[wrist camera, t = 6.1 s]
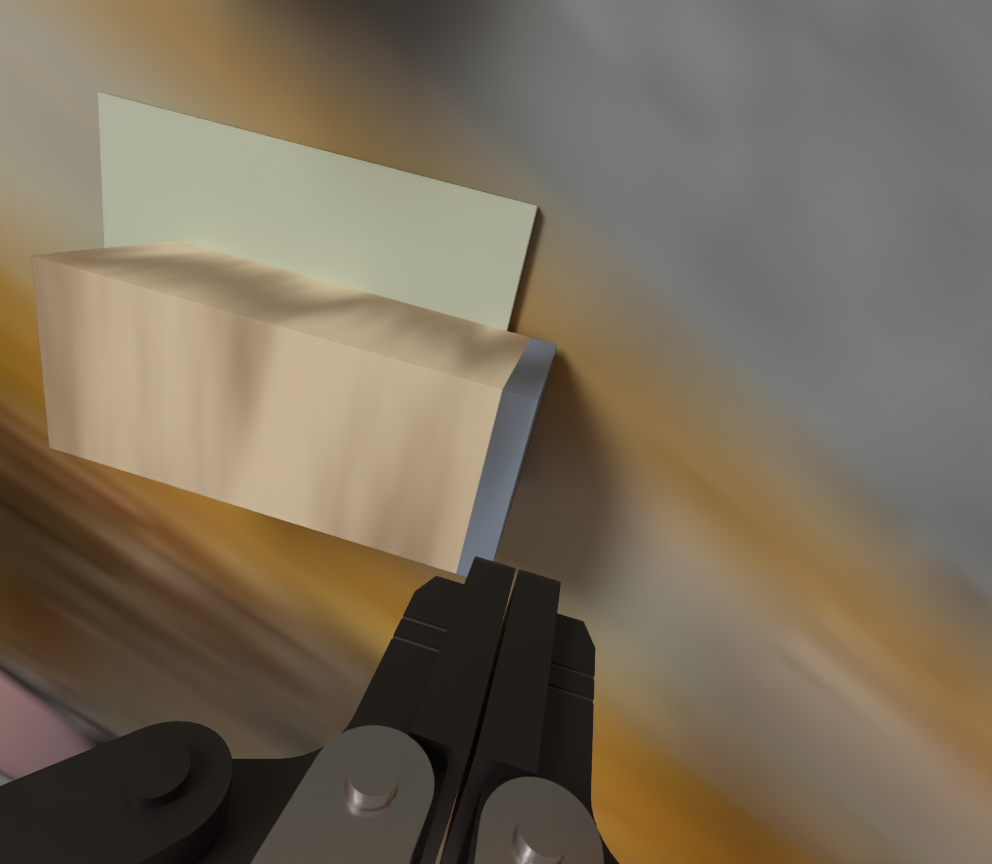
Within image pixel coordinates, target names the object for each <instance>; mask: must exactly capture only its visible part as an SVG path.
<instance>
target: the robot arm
mask: <svg viewBox="0 0 992 864" xmlns="http://www.w3.org/2000/svg"><path fill="white" fill-rule="evenodd" d="M515 569H516V568H513V567H510V566H507V565H503V564H500V563H497V562H493V561H490V560H487V559H484V558H480V557H477V556H475V557H474V560H473V562H472V565H471V568H470V571H469V573H468V576H467V579H466V581H465V584H461V583H457V582H454V581H451V580H448V579H445V578H441V577H438V576H435V577H434V578H433V579H431V580H430V581H429V582H427V583H426V584H425V585H423V586H422V587H420V588H419V589H418V590H416V591H415V592H414V594H413V596H412V598H411V600H410V602H409V605H408V607H407V609H406V611H405V613H404V615H403V618H402V619H401V621H400V623H399V625H398V627H397V629H396V631H395V633H394V636H393V639H391V641H390V643H389V645H388V647H387V649H386V651H385V653H384V656H383V658H382V660H381V662H380V664H379V666H378V668H377V670H376V672H375V674H374V676H373V678H372V680H371V682H370V684H369V686H368V688H367V690H366V692H365V694H364V696H363V698H362V700H361V702H360V704H359V706H358V709H357V711H356V713H355V715H354V717H353V718H352V720H351V722H350V723H349V725H348V726H347V727H346V728H345V730H344V731H343V732H342V733H341V734H339V735H338V736H336V737H335V738H334V739H332V740H331V741H330V742H329V743H328V744H327V745H326V746H324V747H322V748H320V749H318V750H316V751H314V752H311V753H308V754H305V755H302V756H298V757H293V758H284V759H232V757H231V754H230V751H229V748H228V746H227V744H226V743H225V741H224V740H223V739H222V738H221V737H220V736H219V735H218V734H217V733H216V732H214V731H213V730H211V729H210V728H208V727H205V726H203V725H200V724H196V723H192V722H182V721H174V722H164V723H159V724H155V725H151V726H148V727H145V728H142V729H139V730H137V731H135V732H132V733H130V734H127V735H125V736H122V737H120V738H117V739H115V740H112V741H110V742H107V743H105V744H103V745H100V746H98V747H95V748H93V749H90V750H88V751H85V752H83V753H80V754H78V755H75V756H73V757H71V758H68V759H66V760H63V761H61V762H58V763H56V764H53V765H51V766H48V767H46V768H44V769H41V770H39V771H36V772H34V773H31V774H29V775H26V776H24V777H21V778H19V779H16V780H14V781H12V782H9V783H7V784H4V785H2V786H0V864H435V861H436V858H437V855H438V852H439V849H440V846H441V842H442V839H443V836H444V833H445V830H446V826H447V823H448V820H449V817H450V814H451V810H452V807H453V804H454V801H455V798H456V801H455V805H454V809H453V813H452V817H451V821H450V825H449V829H448V833H447V837H446V841H445V845H444V849H443V853H442V857H441V860H440V864H619V863H618V861H617V860H616V859H615V858H614V856H613V855H612V854H611V852H610V851H609V849H608V848H607V846H606V844H605V843H604V841H603V839H602V837H601V835H600V833H599V831H598V829H597V826H596V823H595V820H594V817H593V811H592V806H591V773H592V740H593V707H594V704H593V699H594V680H593V679H594V674H595V646H594V644H593V642H592V640H591V637H590V635H589V633H588V630H587V628H586V626H585V624H584V622H583V621H580V620H577V619H574V618H570V617H567V616H564V615H561V614H558V613H557V609H558V601H559V593H560V582H559V581H556V580H553V579H549V578H546V577H543V576H540V575H536V574H533V573H530V572H527V571H523V570H520V569H519V571H518V574H517V577H516V580H515V583H514V587H513V590H512V593H511V597H510V600H509V603H508V606H507V610H506V613H505V609H506V605H507V601H508V597H509V593H510V589H511V585H512V581H513V577H514V573H515ZM504 613H505V616H504ZM503 617H504V619H503ZM502 621H503V623H502ZM501 625H502V626H501ZM458 788H459V789H458ZM457 791H458V793H457ZM456 795H457V797H456Z"/></svg>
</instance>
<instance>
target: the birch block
mask: <svg viewBox="0 0 992 864" xmlns="http://www.w3.org/2000/svg"><path fill="white" fill-rule="evenodd" d="M31 258H32V268H33V279H34V289H35V300H36V311H37V321H38V332H39V342H40V353H41V363H42V374H43V384H44V395H45V406H46V416H47V427H48V437H49V448H52V449H55V450H58V451H62V452H65V453H68V454H71V455H74V456H78V457H81V458H84V459H87V460H91V461H94V462H97V463H100V464H103V465H107V466H110V467H113V468H116V469H120V470H123V471H126V472H129V473H132V474H136V475H139V476H142V477H145V478H149V479H152V480H155V481H158V482H161V483H165V484H168V485H171V486H174V487H178V488H181V489H184V490H187V491H190V492H194V493H197V494H200V495H203V496H207V497H210V498H213V499H216V500H219V501H223V502H226V503H229V504H232V505H236V506H239V507H242V508H245V509H249V510H252V511H255V512H258V513H261V514H265V515H268V516H271V517H274V518H278V519H281V520H284V521H287V522H290V523H294V524H297V525H300V526H303V527H307V528H310V529H313V530H316V531H319V532H323V533H326V534H329V535H332V536H336V537H339V538H342V539H345V540H348V541H352V542H355V543H358V544H361V545H365V546H368V547H371V548H374V549H377V550H381V551H384V552H387V553H390V554H394V555H397V556H400V557H403V558H406V559H410V560H413V561H416V562H419V563H423V564H426V565H429V566H432V567H435V568H439V569H442V570H445V571H448V572H452V573H455V574H458V575H461V576H464V577H467V576H468V573H469V571H470V568H471V565H472V562H473V560H474V557H475V556H477V557H480V558H484V559H487V560H490V561H493V562H494V559H495V556H496V553H497V549H498V546H499V543H500V540H501V537H502V534H503V530H504V527H505V524H506V521H507V518H508V515H509V511H510V508H511V505H512V502H513V499H514V496H515V492H516V489H517V486H518V482H519V479H520V475H521V471H522V468H523V464H524V461H525V457H526V454H527V450H528V447H529V443H530V440H531V436H532V433H533V429H534V426H535V422H536V419H537V415H538V412H539V408H540V405H541V401H542V398H543V394H544V390H545V387H546V383H547V380H548V376H549V373H550V369H551V366H552V362H553V359H554V355H555V352H556V348H557V345H556V344H552V343H549V342H545V341H542V340H538V339H534V338H531V337H527V336H523V335H520V334H516V333H513V332H509V331H505V330H502V329H498V328H495V327H491V326H487V325H484V324H480V323H476V322H473V321H469V320H466V319H462V318H458V317H455V316H451V315H448V314H444V313H440V312H437V311H433V310H429V309H426V308H422V307H419V306H415V305H411V304H408V303H404V302H400V301H397V300H393V299H390V298H386V297H382V296H379V295H375V294H372V293H368V292H364V291H361V290H357V289H353V288H350V287H346V286H343V285H339V284H335V283H332V282H328V281H325V280H321V279H317V278H314V277H310V276H306V275H303V274H299V273H296V272H292V271H288V270H285V269H281V268H278V267H274V266H270V265H267V264H263V263H259V262H256V261H252V260H249V259H245V258H241V257H238V256H234V255H230V254H227V253H223V252H220V251H216V250H212V249H209V248H205V247H202V246H198V245H194V244H191V243H187V242H183V241H180V240H177V241H167V242H157V243H148V244H138V245H129V246H119V247H110V248H100V249H90V250H81V251H71V252H62V253H52V254H43V255H33V256H31Z"/></svg>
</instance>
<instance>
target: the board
mask: <svg viewBox="0 0 992 864" xmlns="http://www.w3.org/2000/svg"><path fill="white" fill-rule="evenodd" d="M98 106H99V129H100V152H101V175H102V197H103V220H104V243H105V248H110V247H119V246H129V245H138V244H148V243H157V242H167V241H177V240H180V241H183V242H187V243H191V244H194V245H198V246H202V247H205V248H209V249H212V250H216V251H220V252H223V253H227V254H230V255H234V256H238V257H241V258H245V259H249V260H252V261H256V262H259V263H263V264H267V265H270V266H274V267H278V268H281V269H285V270H288V271H292V272H296V273H299V274H303V275H306V276H310V277H314V278H317V279H321V280H325V281H328V282H332V283H335V284H339V285H343V286H346V287H350V288H353V289H357V290H361V291H364V292H368V293H372V294H375V295H379V296H382V297H386V298H390V299H393V300H397V301H400V302H404V303H408V304H411V305H415V306H419V307H422V308H426V309H429V310H433V311H437V312H440V313H444V314H448V315H451V316H455V317H458V318H462V319H466V320H469V321H473V322H476V323H480V324H484V325H487V326H491V327H495V328H498V329H502V330H505V331H508V328H509V324H510V319H511V315H512V311H513V307H514V303H515V299H516V295H517V291H518V287H519V283H520V279H521V275H522V271H523V267H524V262H525V258H526V254H527V250H528V246H529V242H530V238H531V234H532V230H533V226H534V222H535V218H536V214H537V209H538V206H536V205H532V204H528V203H525V202H521V201H517V200H513V199H509V198H505V197H501V196H498V195H494V194H490V193H486V192H482V191H478V190H474V189H471V188H467V187H463V186H459V185H455V184H451V183H447V182H444V181H440V180H436V179H432V178H428V177H424V176H420V175H417V174H413V173H409V172H405V171H401V170H397V169H393V168H390V167H386V166H382V165H378V164H374V163H370V162H366V161H363V160H359V159H355V158H351V157H347V156H343V155H339V154H336V153H332V152H328V151H324V150H320V149H316V148H312V147H309V146H305V145H301V144H297V143H293V142H289V141H286V140H282V139H278V138H274V137H270V136H266V135H262V134H259V133H255V132H251V131H247V130H243V129H239V128H235V127H232V126H228V125H224V124H220V123H216V122H212V121H208V120H205V119H201V118H197V117H193V116H189V115H185V114H181V113H178V112H174V111H170V110H166V109H162V108H158V107H154V106H151V105H147V104H143V103H139V102H135V101H131V100H127V99H124V98H120V97H116V96H112V95H108V94H104V93H99V92H98Z"/></svg>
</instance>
